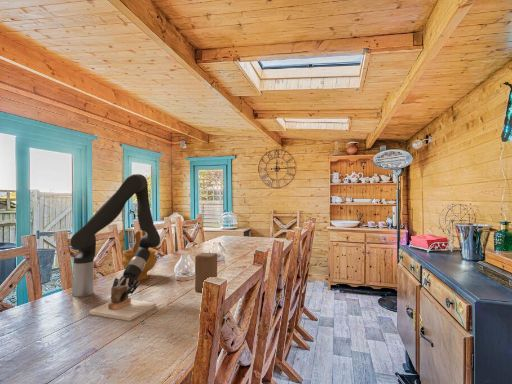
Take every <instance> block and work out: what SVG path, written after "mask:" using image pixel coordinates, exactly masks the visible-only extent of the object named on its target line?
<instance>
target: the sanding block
mask: <svg viewBox="0 0 512 384" xmlns="http://www.w3.org/2000/svg"><path fill="white" fill-rule="evenodd" d="M110 288H111V289H110V293H111V294H110V301H109V302H110V303H108V302H107V303H108V309H113V310H118V309H120V308H122V307H124V306H126V305H128V304H130V303H131V300H132V298H131V297H129V294H128V295H127V297H126V299H125V300H124V301H123V302H121V301H120V298H121V296H122V294H123V292H124V291H125V288H126V286H125V285H118V286H115V287H112V286H111V287H110Z"/></svg>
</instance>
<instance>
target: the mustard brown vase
mask: <svg viewBox="0 0 512 384" xmlns="http://www.w3.org/2000/svg"><path fill="white" fill-rule="evenodd" d="M141 235H142V236H141ZM144 235H147V233H146V232H145V231H142V233H141V231H140V230H138V231H136V232H135V234H134V239H135V243H134V245H133V246H132V248H131V249H130V248H129V249H127V250H123V251H122V254H123V255H124V256H123V257H122V258H121V262H122V265H123V268H124V270H125V269H126V267H127V266H128V264H129V262H130V261H131V259H132V258H133V256H134V255H135V253H136V251H137V248H138V245H139V241H140V239H141V238H142V237H143V236H144ZM148 250H149V251H150V256H149V258H148V260H147V262H146V264H145V267H144V269H143V271H142V272H141V274H140V276H139V278H138V279H137V280H138V281H140V280H145V279H148V278H149V275H148V272H149V271H151V270H152V269H153V268H154V267H155V265H156V263H157V262H158V261H157V260H158V256H157V255H156V252H157V249H156V248H153V247H152V248H149V249H148Z"/></svg>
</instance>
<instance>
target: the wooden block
mask: <svg viewBox="0 0 512 384" xmlns="http://www.w3.org/2000/svg"><path fill="white" fill-rule="evenodd" d="M194 258H195V259H194V290H195V292H196V293H203V292H202V288H203V282H204V280H206V279H207V278H209V277H217V278H218V254H217V253H216V252H201V253H198V254H196V255H195V257H194Z"/></svg>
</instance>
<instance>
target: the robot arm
mask: <svg viewBox="0 0 512 384" xmlns="http://www.w3.org/2000/svg"><path fill="white" fill-rule="evenodd" d="M148 184H149V183H148V179H147V178H146V176H144V175H143V174H139V173H137V174H130V175H129V176H127V177H126V178H125V179H124V181H123V182H122V183H121V185H120V186H119V188H118V189H117V190H116V192H114V194H112V195H111V196H110V197H108V199H107V201H106V202H105V203H103V204H102V206H100V207H99V209H98V210H96V213H95V214H94V215H92V217H91V218H89V220H88V221H87V222H86V223H85V224H84V225H83V226H82V227H81V228H80V229H78V230H77V231H76V232H75V233H74V234H73V235H72V236H71V238H70V241H69V242H70V247H71V248H72V249H73V250H75V251H78V252H77V254H76V255H75V256H74V257H73V276H72V277H71V279H72V280H71V296H73V297H76V298H77V297H78V298H83V297H88V296H91V295H93V294H94V274H95V273H94V270H95V269H94V263H95V262H94V261H95V256H96V249H97V238H96V235H97V233H98V232H100V231H101V230H103V229H105V228H106V227H107V226H109V225H110V224H112V223H113V221H115V220H116V219H117V218H118V216H119V215H121V213H122V211H123V210H124V207H125V205H126V204H127V202H128V201H129V200H130V199H131V198H132V197H133V196H134V195H135V197H136V201H137V206H136V207H137V209H136V210H137V213H136V214H137V221H138V225H139V228H140V230H141V231H142V232H143V231H145V233H146V235H144V236H143V237H142V236H141V239H140V241H139V245H138V248H137V251H136V253H135V255H134V256H133V258H132V259H131V261H130V262H129V264H128V266H127V267H126V269H125V268H124V271H123V275H122V276H121V277H120V278H117V277H115V278H114V280H113V283H112V286H111V288H112V287H115V286H118V285H125V286H126V288H125V291H124V292H123V294H122V296H121V298H120V301H121V302H123V301H124V300H125V299H126V297H127V295H128V296H129V295H130V294H131V295H132V294H134V292H135V291H136V290H137V289H138V287H140V285H141V283H140V280H137V279H138V278H139V276H140V274H141V272H142V271H143V269H144V267H145V264H146V262H147V260H148V258H149V256H150V251H149V250H148V249H149V248H152V249H153V248H156V247H159V246H160V243H161V236H160V234H159V232H158V230H157V228H156V226H155V224H154V220H153V216H152V211H151V207H150V199H149V186H148Z"/></svg>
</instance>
